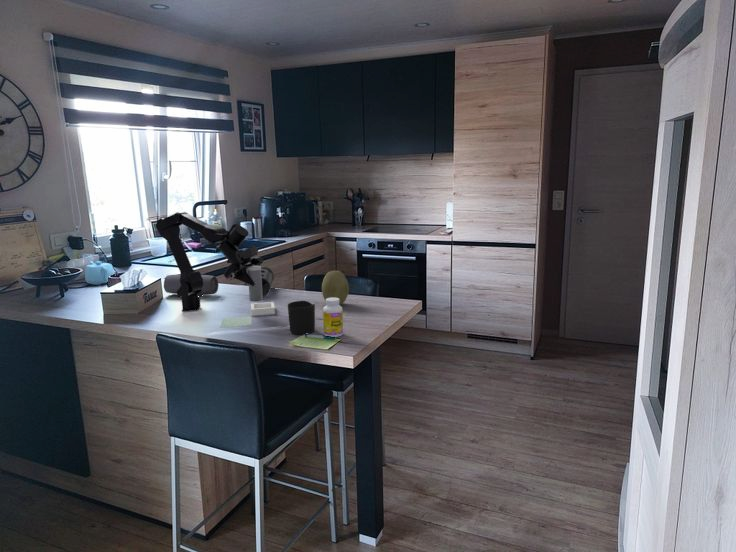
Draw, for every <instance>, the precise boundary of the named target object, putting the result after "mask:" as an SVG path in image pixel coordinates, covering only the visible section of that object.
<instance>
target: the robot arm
mask: <svg viewBox="0 0 736 552" xmlns="http://www.w3.org/2000/svg"><path fill="white" fill-rule="evenodd" d="M182 225H183V226H184V227H187V228H189V229H190V230H192V231H195V232H196V233H199V234H200V235H202V237H203V239H204V240H206V241H207V242H208V243H209V244H211V245H212V244H213V245H214V244H215V245H216V244H218V243H220V244H219V245H216V246H215V252H214V253H215V254H219V253H221V254H223V256H224V257H225V258H226V259H227V260H226V263H227V264H228V267H227V268H226V269H225V270H224V272H223V276H224V278H226V280H229V279H232V278H233V279H234V280H238V281H239V282H240V281H241V282H243V283H245V284H247V285H248V286H249V285H252V286H254V285H255V283H254V282H253V280H252V279H251V278H250V276H249V275H248V268H247V267H249V266H262V264H263V262H264V261H265V260H264V259H263V258H262V256H257V255H258V253H259V248H257V246H255V244H254V245H251V246H249V247H248V248H246V249H239V248H238V247H239V246H241V245H242V244H243V242H244V241H245V240H246V238H247V237H248V236H249V231H248V229H247V228H245V227H243V226H241V225H239V224H238V223H233V224H232V225H231V227H230V229H228V230H226V229H225V228H224V227H222V226H218V225H213V224H209V223H206V222H204V221H203V220H200V219H199V218H197V217H195V216H193V215H191V214H189V213H188V212H186V211H177V212H175V213H173V214H171V215H169V216H167V217H164V218H159V219H158V220H157V221H156V224H155V228H156V230H157V231H158V234H159V235H160V236H161V237H162V238H163V239H164V240H165V241H166V242H167V244H168V246H169V249H170V252H171V254H172V255H173V258H174V261H175V263H176V265H177V267H178V270H179V273H180V283H181V287H180V288H179V289H178V290H177V294H176V295H177V297H179V298H181V307H182V308H181V312H191V311H192V312H193V311H199V309H200V308H201V297H198V293H201V290H202V287H203V278H202V277H201V275H202V274H201V272H200V271H199V270H198V271H196V270H195V269H194V268H193V267H192V265H191V261H190V259H189V257H188V255H187V252H186V249H185V247H184V245H183V243H182V241H181V238H180V233H181V228H180V226H182ZM237 246H238V247H237ZM255 256H257V257H255ZM233 275H234V276H233ZM262 282H263V279H262Z"/></svg>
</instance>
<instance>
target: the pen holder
mask: <svg viewBox="0 0 736 552" xmlns="http://www.w3.org/2000/svg"><path fill="white" fill-rule="evenodd" d="M287 311H288V313H287V314H288V322H289V323H288V324H289V332H290V333H291V334H292V335H295V336H304V335H303V334H306V333H310V334H312V332H313V333H314V332H315V329H316V313H315V312H316V304H315V303H314V304H312V303H311V302H310V301H307V300H295V301H291V302H289V303H288V304H287Z"/></svg>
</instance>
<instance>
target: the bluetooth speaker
mask: <svg viewBox="0 0 736 552" xmlns="http://www.w3.org/2000/svg"><path fill="white" fill-rule="evenodd" d="M180 275H181V273H180V274H168V275H165V277H164V281H163V289H164V291H165V292H166V293H167V294H174V295H177V290H178V289H179V288H180V287H181V283H180ZM201 277H202V278H203V287H202V290H201V293H198V296H202V295H203V296H205V295H206V296H207V295H208V296H209V295H216V293H217V292H218V291H219V281H218V278H217V277H216V276H215V275H209V274H208V275H207V274H201ZM203 296H202V297H203Z"/></svg>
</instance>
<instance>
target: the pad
mask: <svg viewBox="0 0 736 552" xmlns="http://www.w3.org/2000/svg"><path fill="white" fill-rule="evenodd" d="M252 317H253V316H241V317H227V318H222V319H221V321H220V322H221V323H220V328H234V327H243V326H244V327H246V326H252Z"/></svg>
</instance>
